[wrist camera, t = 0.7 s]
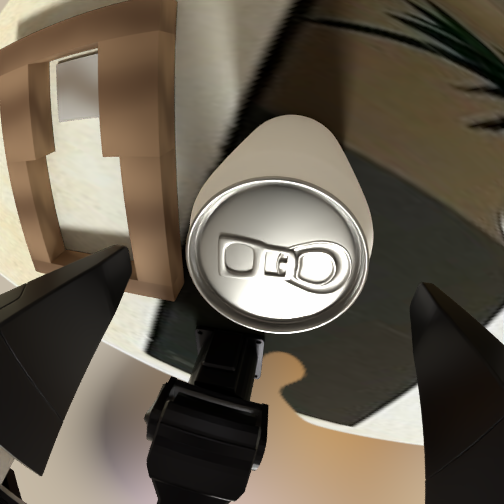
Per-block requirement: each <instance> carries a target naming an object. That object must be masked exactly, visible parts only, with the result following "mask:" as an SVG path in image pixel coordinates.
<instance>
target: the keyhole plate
mask: <svg viewBox="0 0 504 504" xmlns="http://www.w3.org/2000/svg"><path fill="white" fill-rule="evenodd" d="M176 16H177V1H175V0H129V1H125V2H121V3H117V4H113V5H110V6H106V7H103V8H99V9H96V10H93V11H89V12H86V13H83V14H80V15H77V16H75V17H72V18H69V19H66V20H64V21H61V22H58V23H56V24H53V25H51V26H49V27H46V28H44V29H41V30H39V31H37V32H35V33H32V34H30V35H28V36H26V37H24V38H22V39H20V40H18V41H16V42H14V43H12V44H10V45H8V46H6V47H4V48H2V49H0V113H1V124H2V133H3V140H4V147H5V154H6V160H7V166H8V171H9V176H10V181H11V186H12V191H13V195H14V199H15V203H16V207H17V211H18V215H19V219H20V223H21V226H22V230H23V233H24V236H25V240H26V243H27V246H28V249H29V252H30V255H31V258H32V261H33V264H34V267H35V270H36V271H37V272H41V273H45V274H47V273H50V272H52V271H54V270H56V269H59V268H61V267H63V266H66V265H68V264H70V263H73V262H75V261H77V260H80V259H82V258H84V257H87V256H89V255H92V254H89V253H83V252H77V251H71V250H65V246H64V243H63V239H62V235H61V231H60V227H59V223H58V219H57V215H56V210H55V206H54V201H53V196H52V191H51V186H50V181H49V175H48V169H47V163H46V155H48V154H50V153H52V152H54V151H55V146H54V138H53V129H52V118H51V104H50V84H49V62H50V61H53V60H56V59H59V58H62V57H65V56H69V55H72V54H76V53H79V52H83V51H87V50H91V49H95V48H98V54H94V55H90V56H86V57H82V58H78V59H74V60H70V61H67V62H63V63H60V64H57V65H56V72H57V100H58V115H59V122H65V121H72V120H80V119H88V118H97V117H99V118H100V132H101V144H102V154H103V157H120V167H121V176H122V185H123V193H124V201H125V208H126V215H127V222H128V229H129V235H130V241H131V247H132V252H133V258H134V261H131V265H132V274H131V277H130V279H129V282H128V284H127V286H126V289H125V291H124V292H128V293H133V294H138V295H143V296H148V297H153V298H158V299H163V300H169V301H175V299H176V297H177V296H178V294H179V292H180V290H181V288H182V286H183V285H184V273H183V263H182V252H181V240H180V228H179V214H178V198H177V180H176V157H175V116H174V75H175V37H176Z"/></svg>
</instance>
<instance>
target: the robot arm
mask: <svg viewBox="0 0 504 504" xmlns="http://www.w3.org/2000/svg"><path fill="white" fill-rule="evenodd" d="M131 274H132V265H131V260H130V255H129V250H128V248H127V247H126V246H121V245H114V246H111V247H109V248H106V249H104V250H101V251H99V252H97V253H94V254H92V255H89V256H87V257H84V258H82V259H80V260H77V261H75V262H73V263H70V264H68V265H66V266H63V267H61V268H59V269H56V270H54V271H52V272H50V273H47V274H45V275H43V276H41V277H38V278H36V279H34V280H32V281H30V282H28V283H27V284H26V283H25V284H23V285H21V286H19V287H17V288H14V289H12V290H10V291H8V292H5V293H3V294H1V295H0V504H26V503H25V502H24V501H22V498H21V496H20V492H19V488H18V485H17V481H16V478H15V474H14V471H13V470H12V469H11V468H10V467H11V465H12V463H13V461H14V459H16V460H17V461H19V462H20V463H21V464H23V465H24V466H26V467H27V468H29V469H30V470H32V471H33V472H35V473H36V474H38V475H39V476H42V475H43V473H44V470H45V467H46V464H47V461H48V459H49V456H50V454H51V451H52V448H53V446H54V443H55V441H56V438H57V436H58V433H59V430H60V428H61V426H62V423H63V420H64V418H65V416H66V414H67V411H68V409H69V407H70V404H71V402H72V400H73V398H74V396H75V393H76V391H77V389H78V387H79V385H80V382H81V380H82V378H83V376H84V374H85V372H86V369H87V368H88V365H89V363H90V361H91V359H92V357H93V355H94V353H95V351H96V349H97V347H98V345H99V343H100V341H101V339H102V337H103V335H104V334H105V332H106V330H107V328H108V326H109V324H110V322H111V320H112V318H113V316H114V314H115V312H116V310H117V308H118V305H119V303H120V301H121V298H122V296H123V293H124V291H125V289H126V286H127V284H128V282H129V279H130V277H131ZM410 319H411V330H412V343H413V354H414V361H415V367H416V374H417V381H418V388H419V396H420V404H421V414H422V424H423V436H424V452H425V479H426V481H425V504H504V345H503V344H502V343H501V342H500V341H499V340H498V339H497V338H496V337H495V336H494V335H492V334H491V333H490V332H489V331H488V330H487V329H486V328H485V327H484V326H482V325H481V324H480V323H479V322H478V321H477V320H476V319H474V318H473V317H472V316H471V315H470V314H469V313H467V312H466V311H465V310H464V309H463V308H462V307H460V306H459V305H458V304H457V303H456V302H454V301H453V300H452V299H451V298H450V297H448V296H447V295H446V294H445V293H444V292H442V291H441V290H440V289H439V288H437V287H436V286H435V285H434V284H432V283H424V282H422V283H420V284H419V285H418V287H417V290H416V292H415V295H414V297H413V299H412V302H411V305H410ZM201 331H202V332H201ZM195 335H196V343H197V351H198V358H197V360H196V363H195V366H194V368H193V371H192V374H191V377H190V379H189V382H188V383H187V382H184V381H181V380H178V379H177V378H175V377H172V376H171V378H170V380H169V382H168V383H167V382H166V384H163V386H162V388H161V390H160V393H159V395H158V397H157V399H156V401H155V402H154V403H153V405H152V406H151V407H150V409H149V410H148V411H147V413H146V414H145V417H144V420H145V422H146V424H147V440H150V441H152V444H151V447H150V450H149V454H148V457H147V468H148V473H149V477H150V478H152V482H153V485H154V488H155V491H156V494H157V497H158V502H157V504H229V503H230V502H231V501H232V502H235V501H236V500H237V499H238V498H239V497H240V496H241V495H242V494H243V493H244V492H245V488H246V485H247V483H248V479H249V476H250V473H251V470H254V471H255V470H256V469H257V468H258V467H259V465H260V463H261V461H262V458H263V454H264V451H265V447H266V442H267V426H268V405H267V404H263V403H262V404H259V403H255V402H251V401H250V397H251V392H252V387H253V382H254V379H259V378H260V375H261V367H262V358H263V350H264V337H262V336H259V335H252V334H246V333H239V332H233V331H227V330H221V329H215V328H209V327H203V326H198V327H197V328H196V330H195ZM258 340H259V341H258Z"/></svg>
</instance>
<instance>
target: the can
mask: <svg viewBox="0 0 504 504" xmlns="http://www.w3.org/2000/svg"><path fill="white" fill-rule="evenodd" d="M372 245H373V225H372V219H371V214H370V211H369V207H368V205H367V202H366V199H365V197H364V194H363V192H362V190H361V187H360V185H359V183H358V181H357V178H356V176H355V174H354V172H353V170H352V168H351V166H350V164H349V162H348V160H347V158H346V156H345V154H344V152H343V150H342V148H341V146H340V145H339V143H338V141H337V140H336V138H335V137H334V135H333V134H332V133H331V132H330V131H329V130H328V129H327V128H326V127H325V126H324V125H322V124H321V123H319V122H317V121H315V120H313V119H311V118H308V117H305V116H300V115H283V116H278V117H275V118H272V119H270V120H268V121H266V122H264V123H263V124H261V125H260V126H259V127H258V128H256V129H255V130H254V131H253V132H252V133H251V134H250V135H249V136H248V137H247V138H246V139H245V140H244V141H243V142H242V143H241V144H240V145H239V146H238V147H237V148H236V149H235V150H234V151H233V152H232V153H231V154H230V155H229V156H228V157H227V158H226V159H225V160H224V161H223V162H222V163H221V165H220V166H219V167H218V168H217V169H216V170H215V171H214V172H213V173H212V175H211V176H210V177H209V178H208V180H207V181H206V182H205V184H204V185H203V187H202V188H201V190H200V192H199V194H198V196H197V198H196V200H195V203H194V206H193V209H192V213H191V219H190V228H189V232H188V235H187V240H186V261H187V266H188V270H189V273H190V276H191V278H192V280H193V282H194V284H195V286H196V288H197V289H198V291H199V292H200V294H201V295H202V296H203V298H204V299H205V300H206V301H207V302H208V303H209V304H210V305H211V306H212V307H213V308H214V309H215V310H216V311H218V312H219V313H220V314H222V315H223V316H225V317H226V318H228V319H230V320H231V321H233V322H235V323H237V324H240V325H242V326H244V327H247V328H250V329H254V330H257V331H262V332H268V333H279V334H287V333H298V332H304V331H308V330H312V329H315V328H318V327H320V326H323V325H325V324H327V323H329V322H331V321H333V320H334V319H336V318H337V317H339V316H340V315H341V314H343V313H344V312H345V311H346V310H347V309H348V308H349V307H350V306H351V305H352V304H353V303H354V302H355V300H356V299H357V297H358V296H359V294H360V293H361V291H362V289H363V287H364V284H365V282H366V279H367V275H368V270H369V258H370V255H371V251H372Z"/></svg>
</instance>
